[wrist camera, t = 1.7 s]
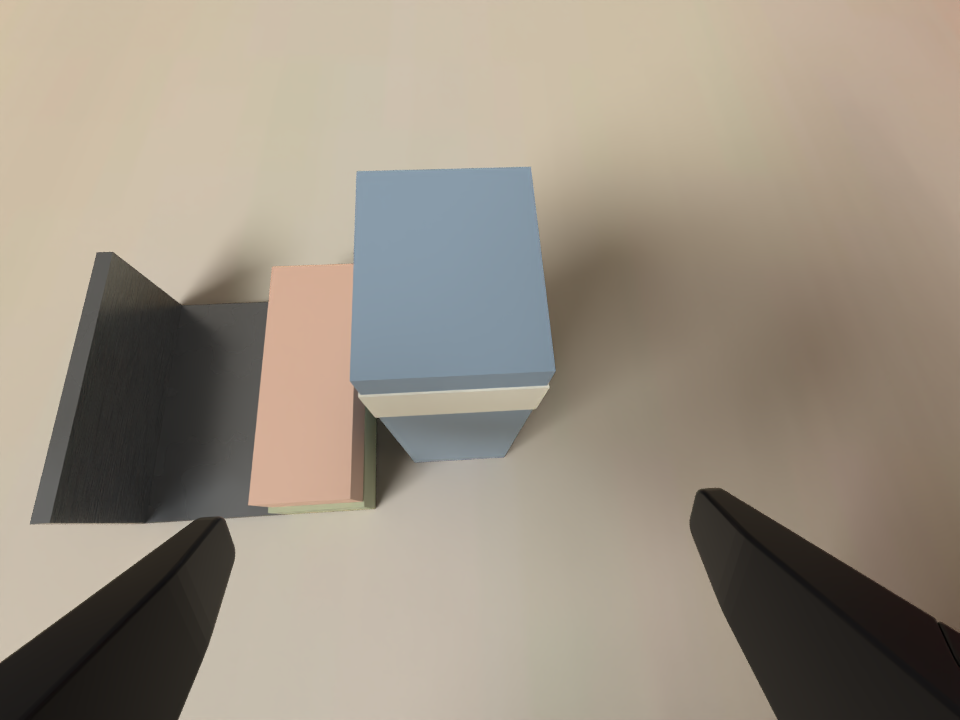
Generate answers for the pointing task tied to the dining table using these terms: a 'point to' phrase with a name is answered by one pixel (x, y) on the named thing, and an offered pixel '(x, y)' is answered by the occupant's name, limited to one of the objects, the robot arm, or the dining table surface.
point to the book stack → (311, 400)
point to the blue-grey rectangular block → (449, 308)
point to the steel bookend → (154, 408)
